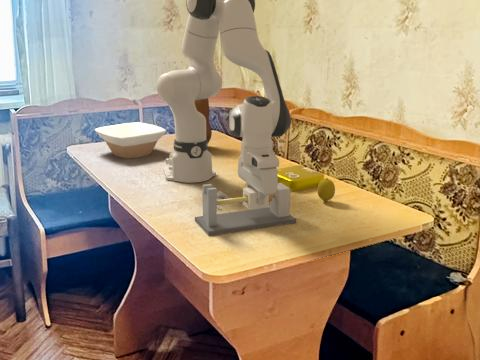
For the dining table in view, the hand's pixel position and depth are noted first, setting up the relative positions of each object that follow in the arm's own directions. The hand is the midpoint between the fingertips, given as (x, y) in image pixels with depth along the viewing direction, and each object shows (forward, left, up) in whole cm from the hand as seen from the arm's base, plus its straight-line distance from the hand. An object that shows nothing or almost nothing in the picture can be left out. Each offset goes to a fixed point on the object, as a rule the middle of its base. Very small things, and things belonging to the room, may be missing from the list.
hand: (255, 200), depth 171 cm
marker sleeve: (0, 0, -2) cm, 2 cm away
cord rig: (0, -3, -6) cm, 7 cm away
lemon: (-7, +28, -6) cm, 29 cm away
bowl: (-89, -17, -6) cm, 91 cm away
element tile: (-29, +28, -7) cm, 41 cm away
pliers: (-19, -2, -7) cm, 21 cm away
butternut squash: (-87, +11, -6) cm, 88 cm away
